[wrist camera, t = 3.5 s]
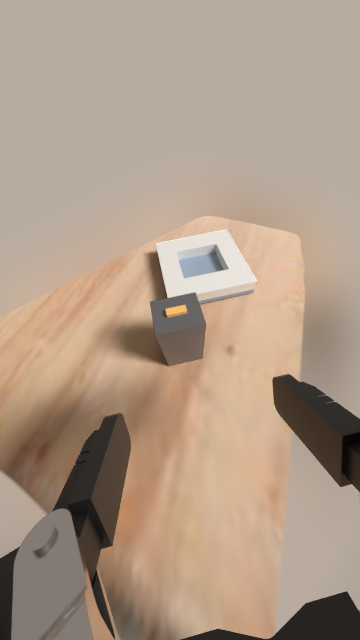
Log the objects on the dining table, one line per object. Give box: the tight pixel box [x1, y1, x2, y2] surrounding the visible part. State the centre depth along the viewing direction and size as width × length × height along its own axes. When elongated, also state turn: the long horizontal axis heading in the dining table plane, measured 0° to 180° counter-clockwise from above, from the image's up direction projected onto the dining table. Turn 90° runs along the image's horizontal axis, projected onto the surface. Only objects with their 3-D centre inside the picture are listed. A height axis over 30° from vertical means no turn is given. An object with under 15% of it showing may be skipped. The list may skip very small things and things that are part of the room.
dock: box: [156, 229, 258, 304], centre depth 29 cm, size 13×13×2 cm
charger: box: [150, 292, 206, 366], centre depth 20 cm, size 4×4×9 cm
